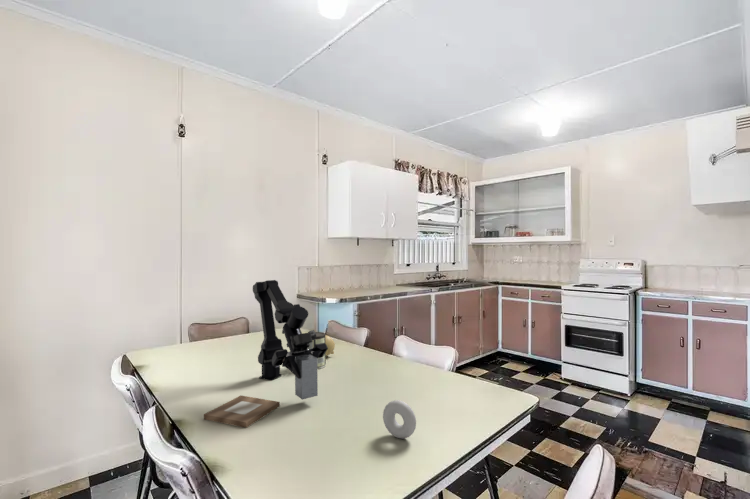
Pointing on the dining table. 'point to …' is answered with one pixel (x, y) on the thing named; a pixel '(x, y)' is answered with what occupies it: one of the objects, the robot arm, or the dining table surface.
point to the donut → (406, 414)
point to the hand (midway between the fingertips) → (308, 376)
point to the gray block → (306, 377)
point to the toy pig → (329, 345)
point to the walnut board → (242, 411)
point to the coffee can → (319, 339)
